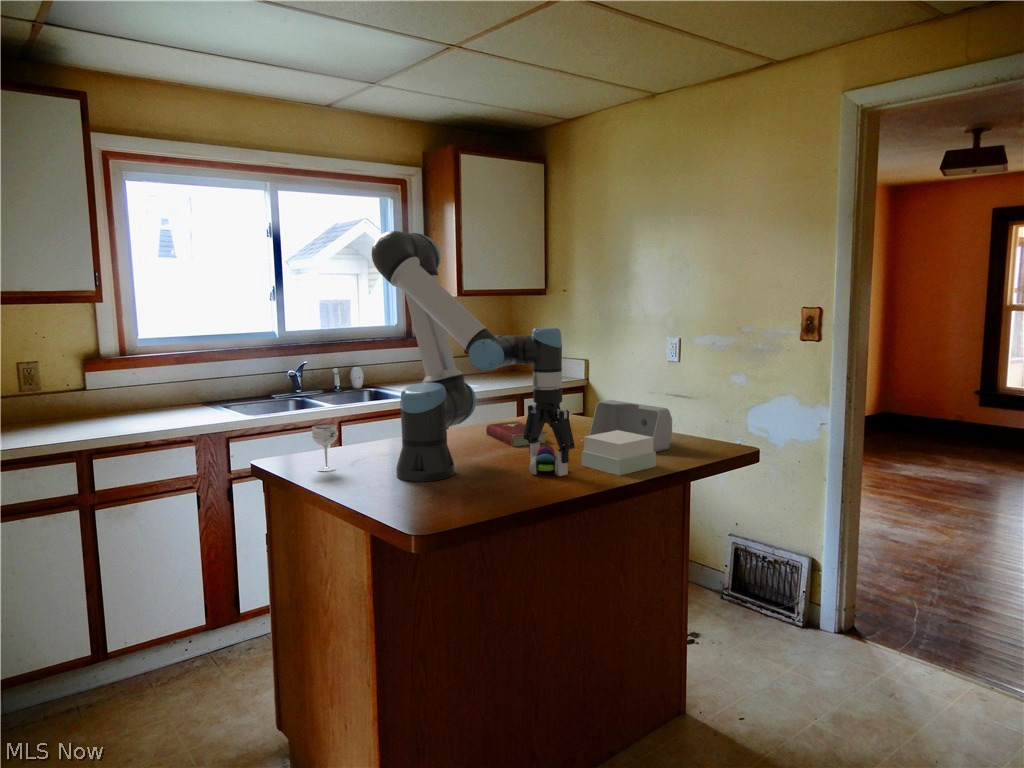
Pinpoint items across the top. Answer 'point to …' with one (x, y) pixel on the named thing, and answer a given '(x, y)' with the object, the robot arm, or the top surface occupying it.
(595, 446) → the grey square box
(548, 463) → the chunky wheeled toy
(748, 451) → the top surface
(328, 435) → the wineglass
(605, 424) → the light grey storage bin
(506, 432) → the hardcover book
